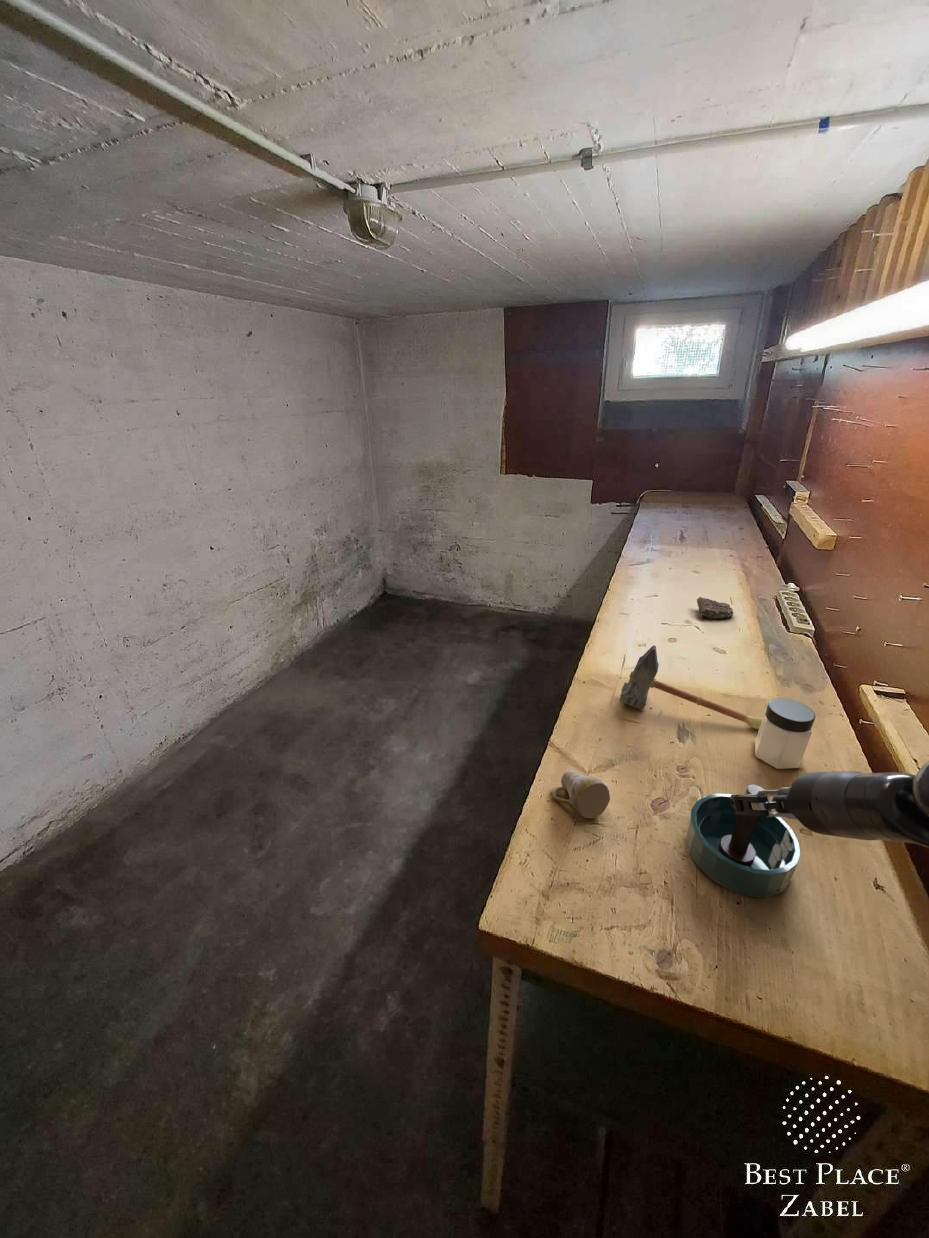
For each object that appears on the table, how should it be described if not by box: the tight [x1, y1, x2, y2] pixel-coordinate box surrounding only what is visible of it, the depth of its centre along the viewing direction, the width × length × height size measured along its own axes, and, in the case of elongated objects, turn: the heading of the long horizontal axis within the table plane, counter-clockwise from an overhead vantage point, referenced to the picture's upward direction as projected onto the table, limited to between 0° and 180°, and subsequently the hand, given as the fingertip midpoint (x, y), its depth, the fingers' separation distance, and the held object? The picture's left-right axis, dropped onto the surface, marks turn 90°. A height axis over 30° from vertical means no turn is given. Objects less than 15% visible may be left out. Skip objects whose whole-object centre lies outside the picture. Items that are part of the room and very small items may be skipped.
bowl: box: [684, 792, 802, 898], centre depth 79 cm, size 16×16×6 cm
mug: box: [552, 769, 611, 819], centre depth 90 cm, size 8×10×10 cm
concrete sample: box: [696, 596, 734, 620], centre depth 161 cm, size 12×10×5 cm
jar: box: [754, 697, 816, 770], centre depth 99 cm, size 9×8×12 cm
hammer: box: [619, 644, 763, 731], centre depth 112 cm, size 6×16×30 cm
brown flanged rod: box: [719, 784, 765, 866], centre depth 77 cm, size 5×5×14 cm
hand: (761, 799), depth 73 cm, fingers open, 8 cm apart
